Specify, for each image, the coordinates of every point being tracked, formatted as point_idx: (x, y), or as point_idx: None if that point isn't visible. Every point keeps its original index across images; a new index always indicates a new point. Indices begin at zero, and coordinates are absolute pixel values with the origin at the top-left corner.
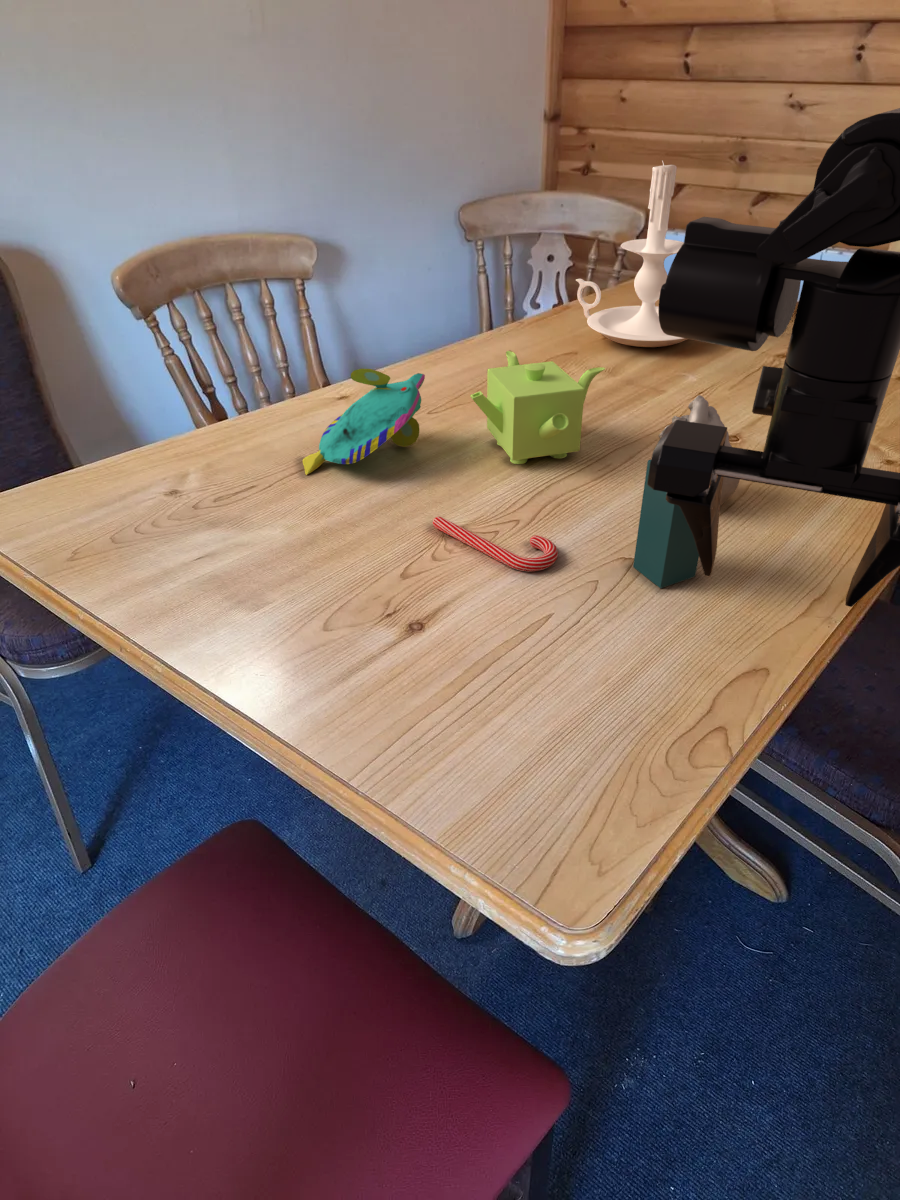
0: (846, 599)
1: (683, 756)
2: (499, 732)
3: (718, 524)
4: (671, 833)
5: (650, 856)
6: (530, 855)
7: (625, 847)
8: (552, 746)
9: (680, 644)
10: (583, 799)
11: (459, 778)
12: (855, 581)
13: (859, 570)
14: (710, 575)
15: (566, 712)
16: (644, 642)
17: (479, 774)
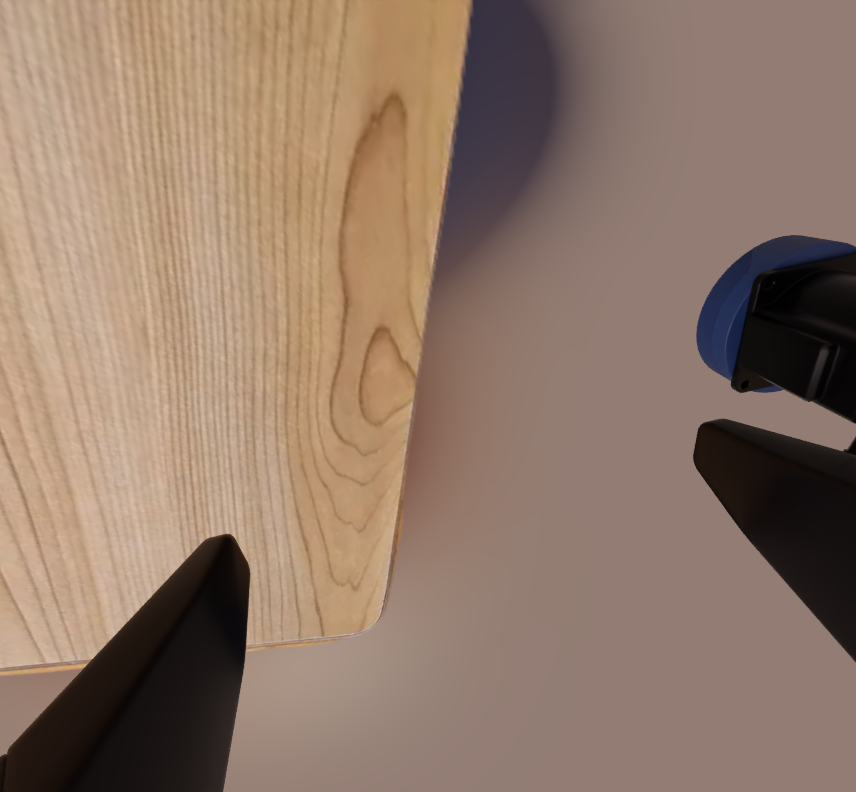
0: (703, 451)
1: (355, 416)
2: (109, 524)
3: (106, 746)
4: (395, 518)
5: (388, 550)
6: (285, 610)
7: (361, 556)
8: (191, 501)
9: (186, 114)
10: (285, 538)
11: (141, 596)
12: (785, 549)
13: (833, 548)
14: (248, 567)
15: (153, 440)
16: (112, 161)
17: (155, 580)
